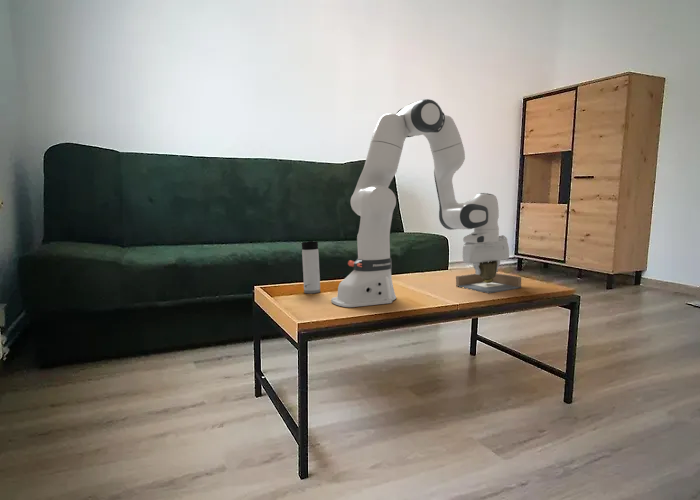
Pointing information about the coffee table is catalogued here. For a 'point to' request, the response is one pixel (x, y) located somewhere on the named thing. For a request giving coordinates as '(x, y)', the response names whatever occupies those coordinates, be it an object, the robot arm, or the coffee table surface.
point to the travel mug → (311, 267)
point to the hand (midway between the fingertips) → (486, 273)
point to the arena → (498, 284)
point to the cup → (488, 271)
